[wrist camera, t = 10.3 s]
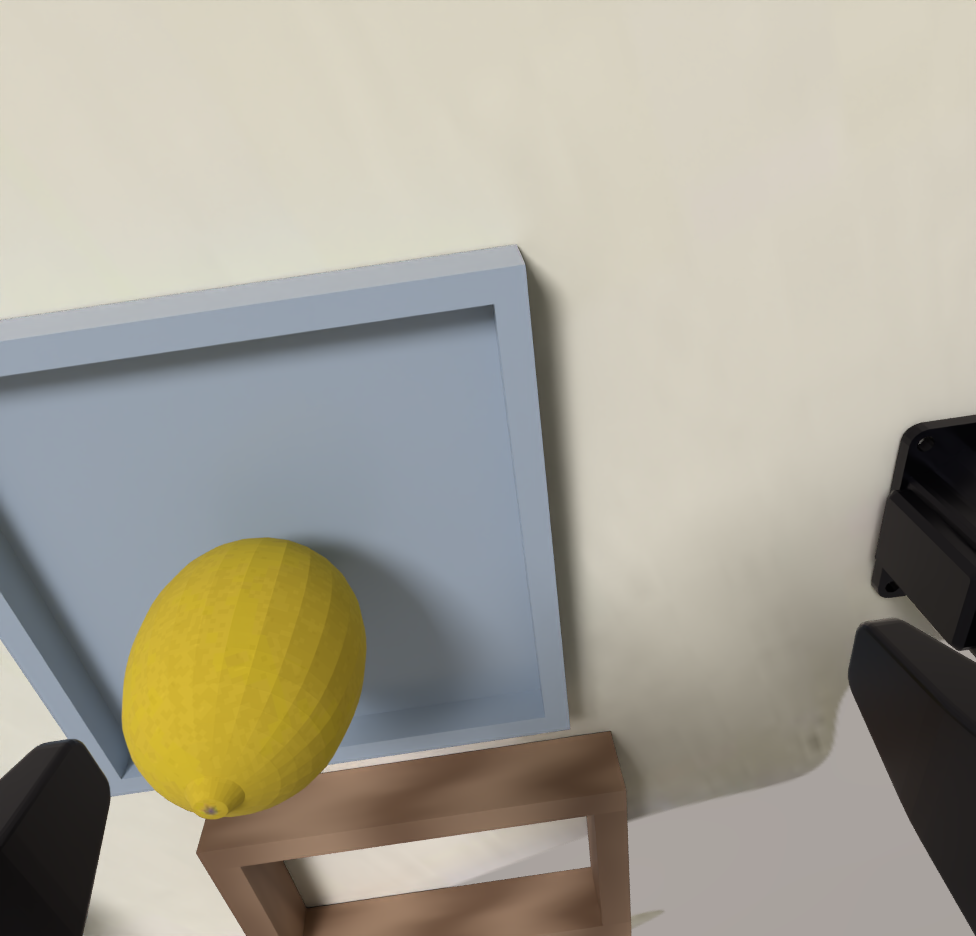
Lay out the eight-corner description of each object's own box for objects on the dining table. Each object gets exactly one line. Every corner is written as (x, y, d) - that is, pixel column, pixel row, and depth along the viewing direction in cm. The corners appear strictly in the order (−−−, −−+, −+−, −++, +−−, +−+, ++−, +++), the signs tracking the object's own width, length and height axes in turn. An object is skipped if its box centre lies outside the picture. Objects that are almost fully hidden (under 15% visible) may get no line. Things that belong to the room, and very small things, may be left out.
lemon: (408, 592, 22) (395, 843, 15) (253, 649, 23) (175, 911, 16) (317, 453, 19) (252, 685, 12) (145, 524, 20) (-5, 777, 13)
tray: (516, 244, 17) (525, 264, 16) (561, 688, 26) (570, 729, 24) (-129, 339, 17) (-184, 368, 16) (126, 751, 26) (107, 797, 24)
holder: (610, 731, 27) (626, 790, 25) (618, 877, 33) (631, 935, 31) (214, 789, 27) (196, 853, 25) (287, 925, 33) (278, 987, 31)
